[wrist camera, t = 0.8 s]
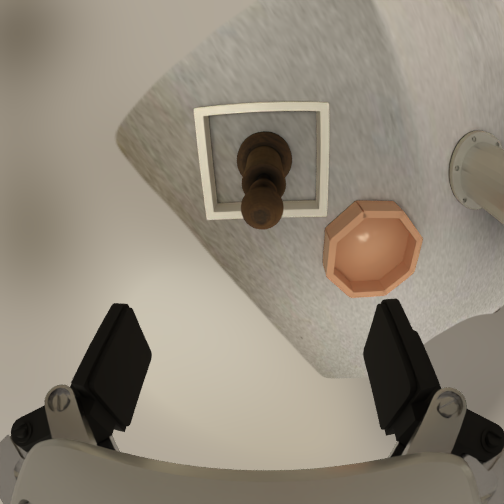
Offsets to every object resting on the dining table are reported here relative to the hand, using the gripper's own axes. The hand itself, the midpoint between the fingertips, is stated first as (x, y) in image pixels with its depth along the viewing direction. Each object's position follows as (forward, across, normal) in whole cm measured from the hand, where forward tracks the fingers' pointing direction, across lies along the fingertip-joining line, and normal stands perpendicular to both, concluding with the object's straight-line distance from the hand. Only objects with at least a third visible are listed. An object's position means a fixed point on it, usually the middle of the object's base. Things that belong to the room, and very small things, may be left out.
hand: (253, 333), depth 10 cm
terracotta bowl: (+28, -15, +13) cm, 35 cm away
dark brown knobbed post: (+28, 0, 0) cm, 29 cm away
